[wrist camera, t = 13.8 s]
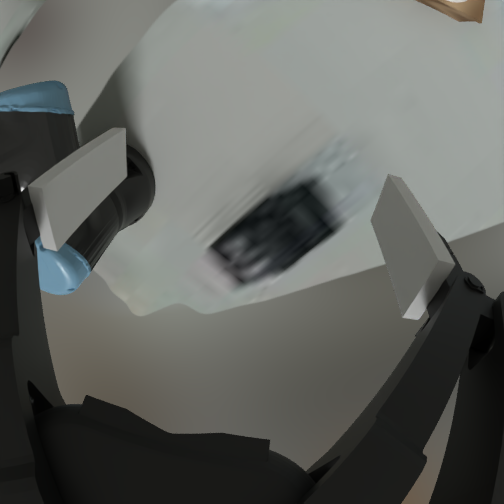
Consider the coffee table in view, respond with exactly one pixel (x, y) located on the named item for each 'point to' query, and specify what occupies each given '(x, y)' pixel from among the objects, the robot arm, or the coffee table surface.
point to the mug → (457, 1)
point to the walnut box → (458, 9)
